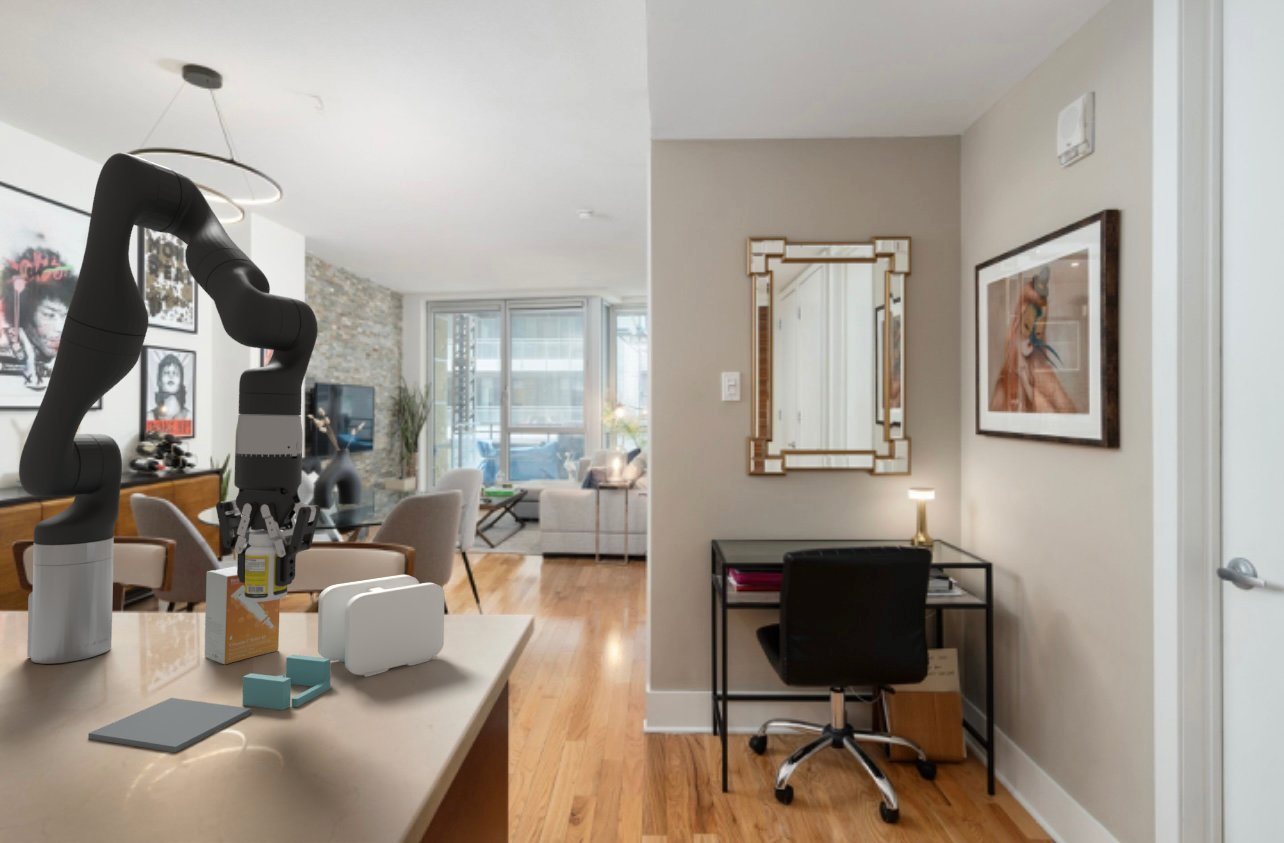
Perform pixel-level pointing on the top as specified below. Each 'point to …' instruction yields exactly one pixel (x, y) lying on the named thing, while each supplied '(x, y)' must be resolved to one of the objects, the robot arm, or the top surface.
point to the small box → (237, 620)
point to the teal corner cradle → (288, 683)
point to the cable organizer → (381, 623)
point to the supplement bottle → (261, 569)
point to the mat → (170, 724)
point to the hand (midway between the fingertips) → (266, 582)
